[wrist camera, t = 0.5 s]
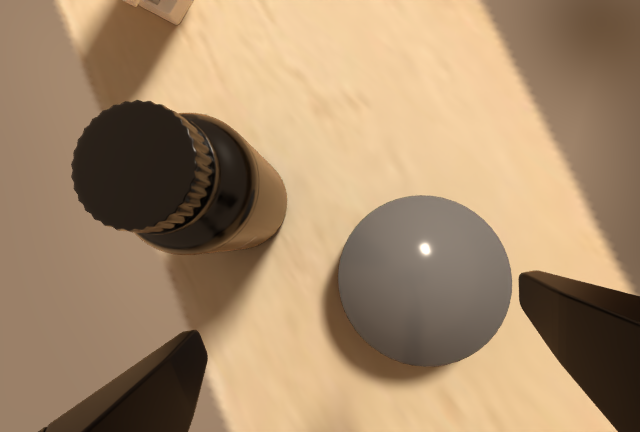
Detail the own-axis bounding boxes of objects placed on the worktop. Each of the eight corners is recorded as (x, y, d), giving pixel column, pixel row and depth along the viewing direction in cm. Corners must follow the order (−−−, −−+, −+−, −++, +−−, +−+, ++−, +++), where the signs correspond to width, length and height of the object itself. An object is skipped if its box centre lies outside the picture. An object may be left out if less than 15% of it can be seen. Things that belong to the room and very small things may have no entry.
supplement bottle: (251, 268, 22) (138, 305, 10) (182, 211, 23) (4, 184, 11) (309, 193, 22) (262, 144, 10) (238, 138, 23) (118, 35, 11)
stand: (491, 350, 20) (515, 370, 17) (339, 345, 21) (338, 362, 18) (486, 200, 21) (508, 194, 18) (339, 201, 22) (338, 196, 19)
